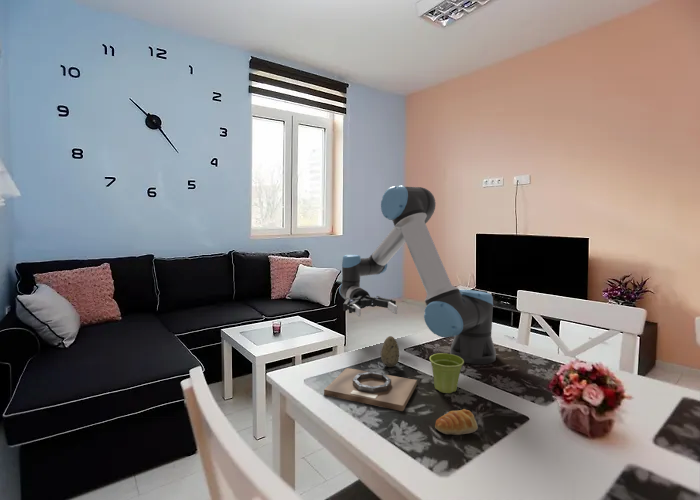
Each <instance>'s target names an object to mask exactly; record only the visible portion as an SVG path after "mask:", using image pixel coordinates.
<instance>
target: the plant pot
mask: <svg viewBox="0 0 700 500" xmlns="http://www.w3.org/2000/svg"><path fill="white" fill-rule="evenodd" d="M429 362H430V363H431V367H432V374H433V375H432V376H433V385H434V389H435V390H437V391H439V392H440V393H443V394H452V393H453V392H454V393H455V392H456V391H457V389H458V388H457V387H458V383H459V378H460V373H461V369H462V366H463V365H464V363H465V362H464V360H463V359H462V358H461V357H459V356H456V355H453V354H450V353H446V352H443V353H442V352H441V353H434V354H432V355H430V356H429Z"/></svg>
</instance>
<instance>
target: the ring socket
mask: <svg viewBox="0 0 700 500" xmlns="http://www.w3.org/2000/svg"><path fill="white" fill-rule="evenodd" d="M386 375H387V374H385V373H381V372H376V371H368V372H365V373H359V374H357V375H356V376H355V378H354V379H353V385H354V387H355V388H356V389H357V390H358V391H362V392H367V393H372V394H375V393H380V392H385V391H387V390H388V389H389V387H390V386H391V379H390V378H389V377H387V376H386ZM369 378H373V379H379V380H382V381H384V382H385V384H384V385H379V386H368V385H362V384H361V383H360V382H359V381H360V380H363V379H369Z"/></svg>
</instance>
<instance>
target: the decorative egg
mask: <svg viewBox="0 0 700 500" xmlns="http://www.w3.org/2000/svg"><path fill="white" fill-rule="evenodd" d="M380 359H381V362H382V363H383V365H384V366H385V367H388V368H393V367H395V366H396V365H397V364H398V362H399V361H400V348H399V345H398V342H397V340H396V339H395V337H394V336H391V335H390V336H388V337H386V339H384V342H383V343H382V346H381V351H380Z"/></svg>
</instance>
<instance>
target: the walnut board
mask: <svg viewBox="0 0 700 500" xmlns="http://www.w3.org/2000/svg"><path fill="white" fill-rule="evenodd" d="M365 372H369V371H367V370H362V369H355V368H350V367H349V368H348V367H346V368H345V369H344V370H343V371H341V372H340V374H338V375H337V377H335V378H334V379H333V380H332V381H331V383H329V384H328V385H327V386H326V387H325V388H324V390H323V395H324V396H327V397H333V398H337V399H342V400H347V401H352V402H355V403H357V402H358V403H362V404H367V405H371V406H376V407H381V408H385V409H389V410H390V409H391V410H395V411H399V412H403V411H404V410H405V408H406V407H407V404H408V403H409V401H410V399H411V398H412V395H413V393H414V392H415V390H416V388H417V385H418V380H417V379H412V378H408V377H407V378H406V377H403V376H402V377H400V376H396V375H390V374H385V375H386V376H387V377H389V378H390V379H391V386H390V387H389V389H388V390H387V391H385V392H380V393H375V394H372V393H367V392H362V391H358V390H357V389H356V388H355V387H354V385H353V379H354V378H355V376H356V375H357V374H359V373H365ZM359 382H360V383H361V384H362V385H368V386H379V385H384V384H385V382H384V381H382V380H379V379H373V378H369V379H363V380H360V381H359Z"/></svg>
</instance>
